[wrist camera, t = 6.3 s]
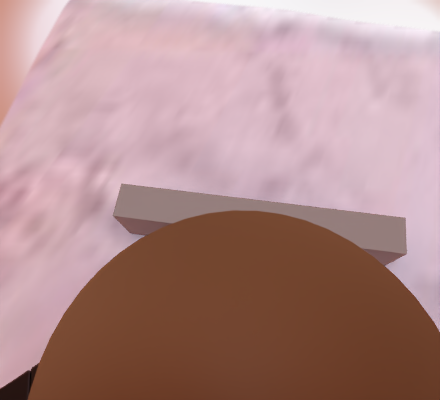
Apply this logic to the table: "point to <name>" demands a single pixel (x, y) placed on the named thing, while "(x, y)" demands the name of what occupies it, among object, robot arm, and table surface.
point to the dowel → (242, 320)
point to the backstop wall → (206, 203)
